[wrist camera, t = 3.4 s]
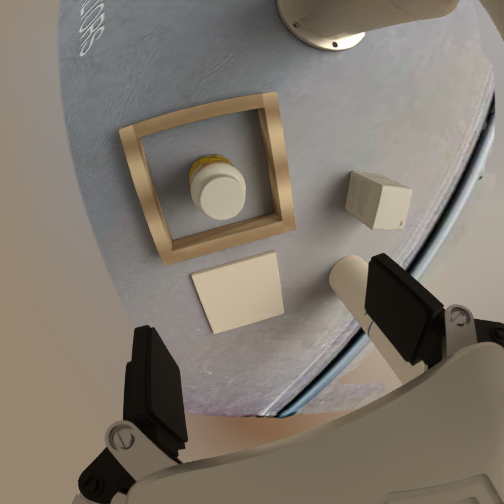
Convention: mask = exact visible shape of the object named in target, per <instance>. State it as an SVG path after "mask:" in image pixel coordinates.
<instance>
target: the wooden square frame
mask: <svg viewBox="0 0 504 504" xmlns="http://www.w3.org/2000/svg"><path fill="white" fill-rule="evenodd" d="M251 109H258V114H259V120H260V125H261V131H262V136H263V142H264V148H265V154H266V160H267V166H268V172H269V178H270V184H271V190H272V197H273V203H274V210H275V213H271V214H267V215H263V216H259V217H256V218H252V219H248V220H244V221H240V222H237V223H233V224H229V225H226V226H222V227H218V228H215V229H211V230H207V231H204V232H200V233H197V234H193V235H190V236H186V237H183V238H179V239H176V240H172V238H171V235H170V232H169V229H168V226H167V223H166V220H165V217H164V214H163V211H162V208H161V205H160V202H159V199H158V195H157V192H156V189H155V186H154V182H153V179H152V176H151V172H150V169H149V165H148V162H147V158H146V155H145V151H144V148H143V144H142V140H141V137H143V136H146V135H149V134H152V133H156V132H159V131H162V130H165V129H169V128H172V127H176V126H180V125H183V124H187V123H191V122H195V121H199V120H203V119H207V118H211V117H216V116H220V115H225V114H230V113H235V112H240V111H246V110H251ZM119 134H120V138H121V141H122V145H123V148H124V152H125V156H126V159H127V162H128V166H129V169H130V172H131V176H132V179H133V182H134V185H135V188H136V191H137V194H138V197H139V200H140V203H141V206H142V209H143V212H144V215H145V218H146V221H147V223H148V226H149V229H150V232H151V234H152V237H153V240H154V242H155V245H156V247H157V250H158V253H159V255H160V258H161V260H162V263H163V265H164V266H166V265H170V264H173V263H177V262H180V261H184V260H187V259H191V258H194V257H198V256H201V255H205V254H209V253H212V252H216V251H219V250H223V249H226V248H230V247H234V246H237V245H241V244H244V243H248V242H252V241H255V240H259V239H263V238H266V237H270V236H273V235H277V234H281V233H284V232H288V231H292V230H296V226H295V217H294V208H293V200H292V192H291V184H290V177H289V169H288V162H287V155H286V148H285V142H284V135H283V129H282V123H281V117H280V111H279V105H278V99H277V93H276V92H270V93H262V94H255V95H249V96H243V97H237V98H232V99H226V100H221V101H216V102H212V103H207V104H203V105H199V106H194V107H190V108H186V109H183V110H179V111H175V112H172V113H168V114H165V115H161V116H158V117H155V118H151V119H148V120H145V121H142V122H139V123H136V124H133V125H131V126H128V127H125V128H122V129H119Z"/></svg>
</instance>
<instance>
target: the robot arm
mask: <svg viewBox="0 0 504 504" xmlns="http://www.w3.org/2000/svg"><path fill="white" fill-rule="evenodd" d="M459 1H460V0H277V8H278V12H279V15H280V17H281V19H282V21H283V22H284V24H285V25H286V26H287V28H288V29H289V30H290V31H291V32H292V33H293V34H294V35H295V36H297V37H298V38H299V39H300V40H302V41H303V42H305V43H307V44H308V45H311V46H313V47H315V48H318V49H322V50H326V51H342V50H346V49H349V48H351V47H354V46H355V45H357V44H358V43H359V42H360V41H361V40H362V38H363V37H364V35H365V32H367V31H371V30H375V29H379V28H383V27H387V26H392V25H396V24H401V23H407V22H412V21H418V20H425V19H432V18H438V17H443V16H445V15H448V14H449V13H451V12H452V11H453V10H454V9H455V8H456V7H457V5H458V3H459ZM479 1H480V2H481V4H482V5H483V7H484V8H485V9H486V11H487V12H488V14H489V15H490V17H491V19H492V21H493V22H494V24H495V26H496V28H497V30H498V31H499V33H500V35H501V37H502V39H503V41H504V0H479ZM293 25H294V26H295V27H294V26H293ZM332 45H333V46H332ZM443 306H444V305H443V304H442V303H441V302H440V301H439V300H437V298H435V297H434V296H433V295H432V294H431V293H430V292H429V291H428V290H427V289H426V288H424V287H423V286H422V285H421V284H420V283H419V282H418V281H417V280H416V279H414V278H413V277H412V276H411V275H410V274H409V273H407V272H406V271H405V270H404V269H403V268H402V267H400V266H399V265H398V264H397V263H396V262H395V261H393V260H392V259H391V258H390V257H389V256H387V255H386V254H385V253H381V254H379V255H376V256H373V257H372V258H371V261H369V264H368V276H367V287H366V296H365V305H364V307H365V311H366V313H367V314H368V315H369V316H370V318H371V319H372V320H373V321H374V323H375V324H376V325H377V326H378V327H379V329H380V330H381V331H382V332H383V334H384V335H385V336H386V337H387V339H388V340H389V341H390V342H391V344H392V345H393V346H394V347H395V349H396V350H397V351H398V353H399V354H400V355H401V356H402V358H403V359H404V360H405V361H406V362H409V363H410V364H411V365H412V366H414V365H416V364H417V363H419V362H420V361H421V360H422V361H423V362H424V373H422V374H421V375H419V376H417V377H416V378H414V379H413V380H411V381H409V382H408V383H406V384H404V385H403V386H401V387H400V388H397V389H396V390H394V391H392V392H390V393H389V394H387V395H385V396H383V397H381V398H379V399H377V400H375V401H373V402H372V403H370V404H368V405H366V406H364V407H362V408H360V409H357V410H355V411H353V412H351V413H349V414H347V415H345V416H342V417H340V418H338V419H335V420H333V421H331V422H328V423H326V424H324V425H321V426H318V427H316V428H313V429H310V430H308V431H305V432H302V433H300V434H297V435H294V436H291V437H288V438H285V439H282V440H279V441H276V442H272V443H269V444H266V445H262V446H258V447H255V448H251V449H247V450H243V451H239V452H235V453H231V454H226V455H222V456H217V457H212V458H207V459H202V460H197V461H192V462H187V463H183V462H182V461H181V460H180V459H179V458H177V457H178V450H180V449H185V443H184V442H187V441H188V436H187V429H186V421H185V414H184V405H183V396H182V387H181V376H180V370H179V367H178V365H177V364H176V362H175V361H174V359H173V358H172V356H171V354H170V353H169V351H168V349H167V348H166V346H165V344H164V343H163V341H162V339H161V338H160V336H159V334H158V333H157V331H156V329H155V328H154V327H152V328H151V327H150V326H149V325H145V326H141V327H137V328H135V330H134V338H133V348H132V360H131V362H128V363H127V365H126V373H125V387H124V406H123V420H121V421H118V422H115V423H113V424H112V425H111V426H110V427H109V428H108V429H107V432H106V435H105V442H106V446H107V447H106V448H105V449H104V450H103V451H102V453H101V454H100V455H99V456H98V457H97V458H96V459H95V460H94V461H93V462H92V463H91V464H90V465H89V466H88V467H87V468H86V469H85V470H84V471H83V472H82V474H81V475H80V477H79V480H78V486H79V490H80V495H77V494H76V496H75V498H74V501H73V502H72V504H504V324H503V323H500V322H493V321H486V320H480V319H474V318H473V315H472V313H471V312H470V310H469V309H467V308H466V307H464V306H462V305H451V306H449V307H448V308H447V309H446V310H445V309H444V308H443Z"/></svg>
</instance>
